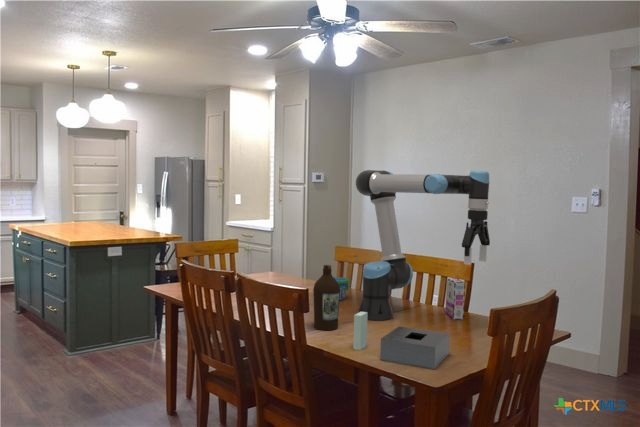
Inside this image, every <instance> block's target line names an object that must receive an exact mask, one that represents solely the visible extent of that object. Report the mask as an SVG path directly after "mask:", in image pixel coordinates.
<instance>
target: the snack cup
mask: <svg viewBox="0 0 640 427" xmlns="http://www.w3.org/2000/svg"><path fill="white" fill-rule="evenodd" d="M333 277H334V276H333ZM334 279H335V280H336V281H337V282H338V283H339V286H340V300H339V301H342V300H345V299H346V295H347V291H349V290H350V287H349V286H350V285H349V283H350V282H349V281H350V280H349V278H347V277H340V276H339V277H336V276H335V277H334Z"/></svg>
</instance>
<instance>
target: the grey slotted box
mask: <svg viewBox="0 0 640 427" xmlns="http://www.w3.org/2000/svg"><path fill="white" fill-rule="evenodd" d="M450 336H451V334H450V333H446V332H441V331H433V330H428V329H427V330H426V329H419V328H412V327H406V326H397V327H396V328H395V329H393V330H391V331H390V332H389V333H387V334H386V335H384V336H383V337H381V338H380V354H379V355H380V357H379V358H380V361H385V362H389V363H390V362H391V363H396V364H403V365H409V366H413V367H419V368H423V369H424V368H425V369H430V370H436V369H437V368H438V366H439V365H441V363H443V361H444V360H445V359H446V358H447V356H449V354H450Z"/></svg>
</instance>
